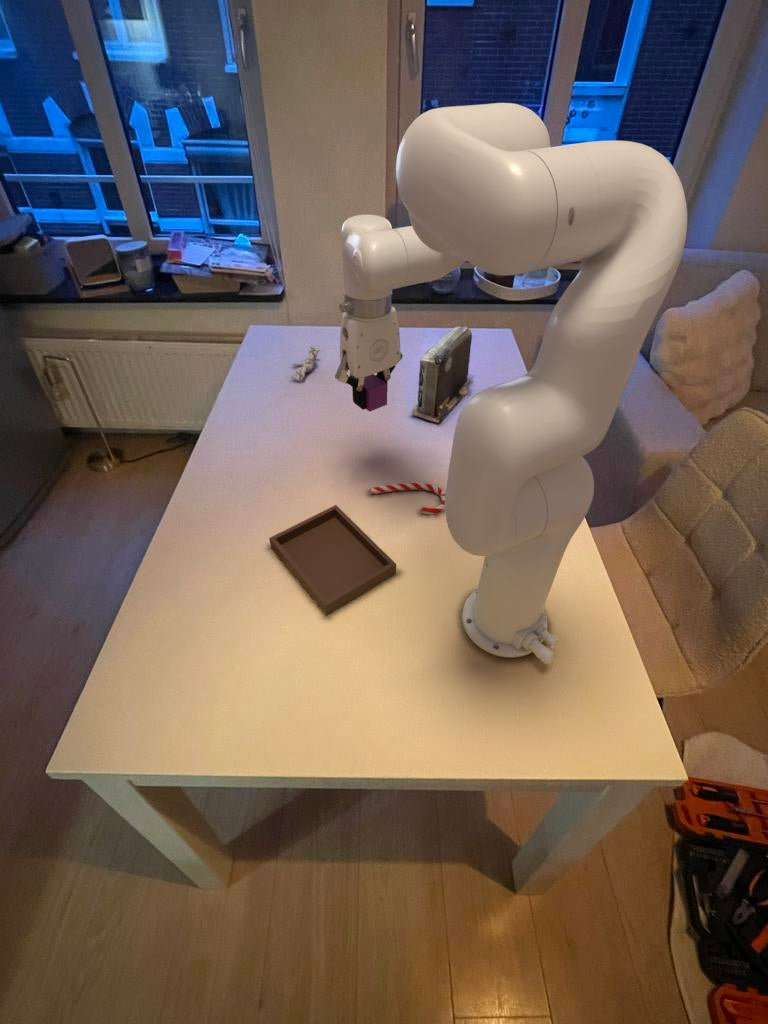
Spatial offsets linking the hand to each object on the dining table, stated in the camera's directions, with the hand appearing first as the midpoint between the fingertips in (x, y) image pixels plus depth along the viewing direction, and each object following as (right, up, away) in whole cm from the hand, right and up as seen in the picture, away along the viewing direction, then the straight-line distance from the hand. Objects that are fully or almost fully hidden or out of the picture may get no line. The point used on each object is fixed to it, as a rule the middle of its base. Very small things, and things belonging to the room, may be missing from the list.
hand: (370, 401), depth 97 cm
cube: (0, 0, 0) cm, 0 cm away
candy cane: (+7, -18, +3) cm, 20 cm away
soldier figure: (-17, +15, +37) cm, 44 cm away
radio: (+16, +7, +28) cm, 33 cm away
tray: (-6, -29, -9) cm, 31 cm away
